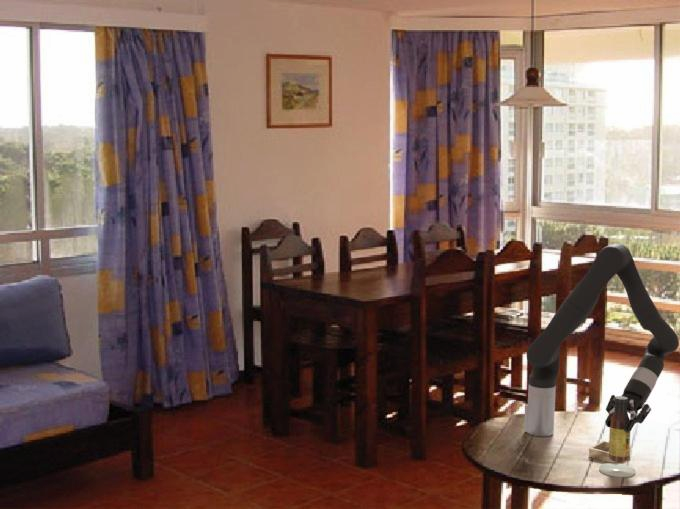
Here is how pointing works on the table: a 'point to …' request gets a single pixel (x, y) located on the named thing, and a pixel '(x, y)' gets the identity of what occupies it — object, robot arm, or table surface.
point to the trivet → (617, 470)
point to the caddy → (601, 452)
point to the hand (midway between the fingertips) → (616, 428)
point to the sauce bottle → (619, 431)
